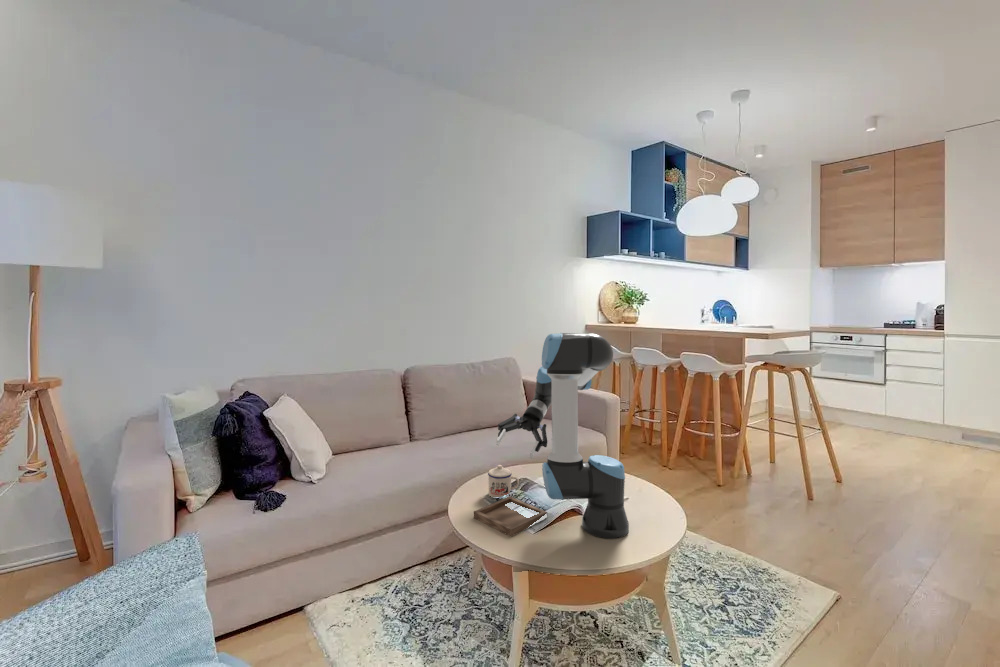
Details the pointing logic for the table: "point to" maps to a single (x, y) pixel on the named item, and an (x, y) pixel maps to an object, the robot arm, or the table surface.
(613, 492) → the robot arm
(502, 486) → the teacup with lid
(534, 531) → the table surface
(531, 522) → the tray
